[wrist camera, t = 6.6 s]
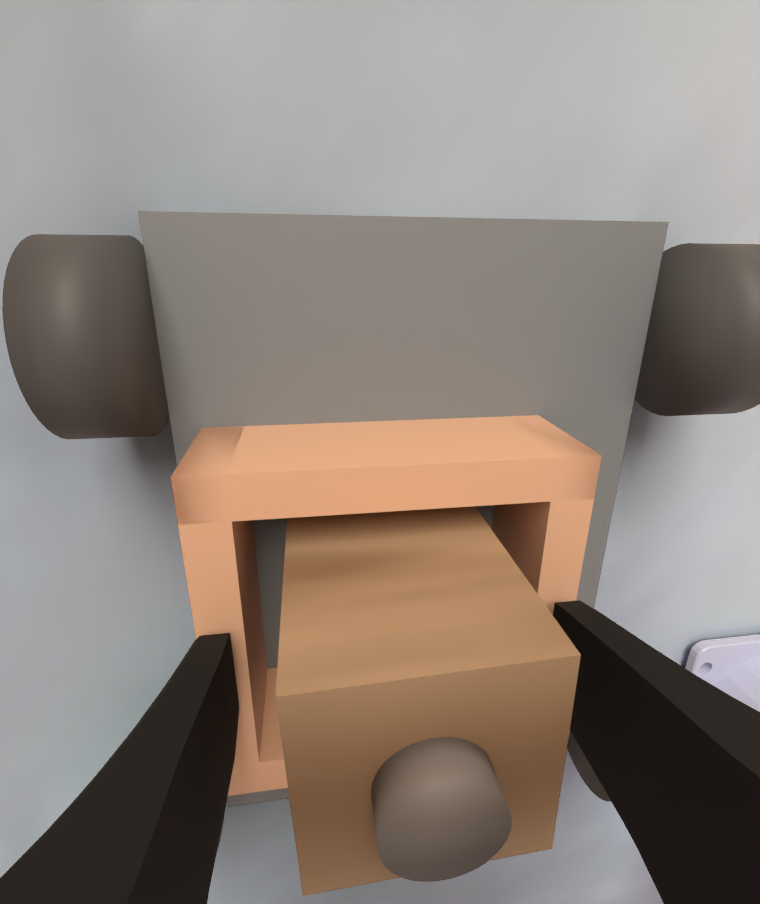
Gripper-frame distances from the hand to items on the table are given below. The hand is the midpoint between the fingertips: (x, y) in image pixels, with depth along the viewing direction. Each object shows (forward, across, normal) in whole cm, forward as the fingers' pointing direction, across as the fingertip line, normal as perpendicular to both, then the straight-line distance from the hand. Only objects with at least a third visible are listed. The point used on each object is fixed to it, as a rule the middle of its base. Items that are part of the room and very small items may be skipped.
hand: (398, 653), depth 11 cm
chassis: (+5, -1, 0) cm, 5 cm away
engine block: (+3, 0, 0) cm, 3 cm away
